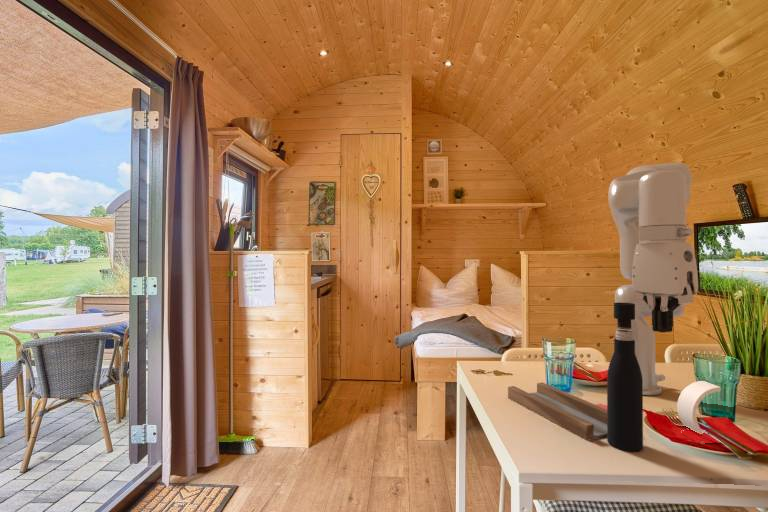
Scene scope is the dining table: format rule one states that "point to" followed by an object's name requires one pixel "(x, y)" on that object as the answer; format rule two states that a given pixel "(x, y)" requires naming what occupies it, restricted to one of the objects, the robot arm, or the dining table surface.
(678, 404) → the white crescent arch
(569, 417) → the cradle
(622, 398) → the wine bottle
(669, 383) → the dining table surface
